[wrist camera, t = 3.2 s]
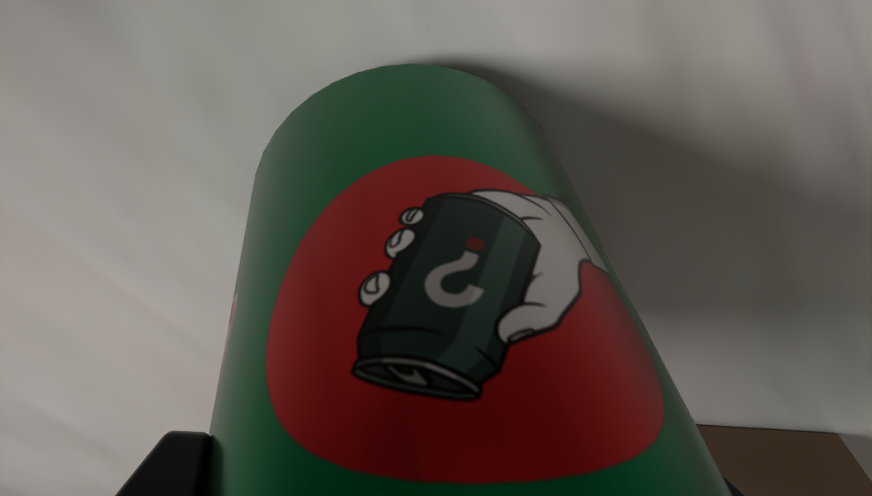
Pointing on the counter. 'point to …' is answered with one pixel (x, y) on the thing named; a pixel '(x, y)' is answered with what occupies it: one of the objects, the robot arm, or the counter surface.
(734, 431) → the walnut base
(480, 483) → the soda can
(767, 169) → the counter surface
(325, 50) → the counter surface
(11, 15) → the counter surface
